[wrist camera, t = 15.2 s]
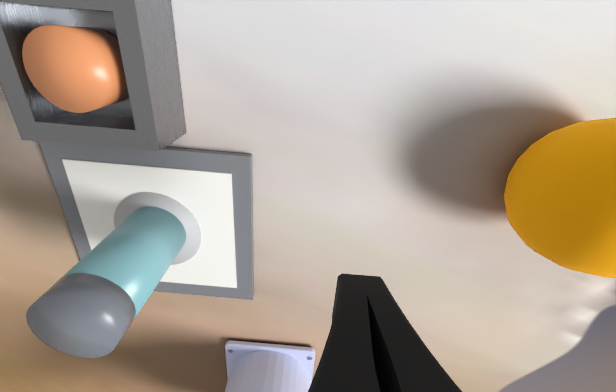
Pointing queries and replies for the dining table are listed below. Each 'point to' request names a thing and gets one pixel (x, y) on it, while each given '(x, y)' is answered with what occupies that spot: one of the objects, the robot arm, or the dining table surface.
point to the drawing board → (164, 207)
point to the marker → (108, 285)
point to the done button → (75, 67)
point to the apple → (568, 197)
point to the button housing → (137, 66)
